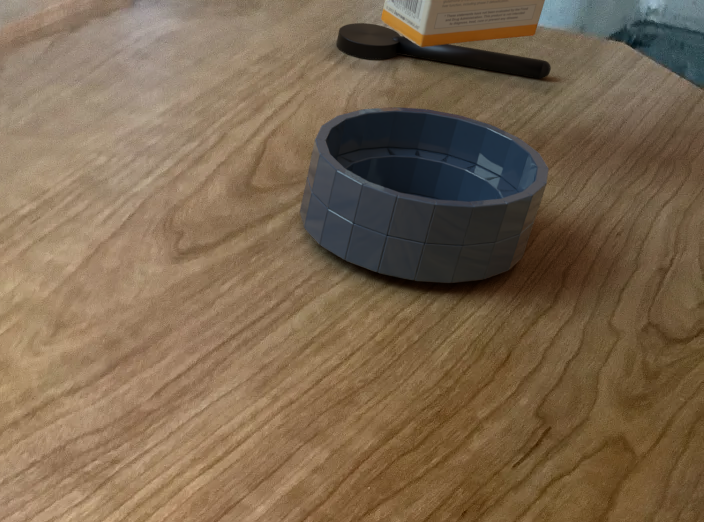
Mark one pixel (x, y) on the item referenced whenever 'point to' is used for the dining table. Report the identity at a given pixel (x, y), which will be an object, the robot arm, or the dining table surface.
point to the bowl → (422, 194)
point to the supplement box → (461, 19)
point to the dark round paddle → (431, 51)
